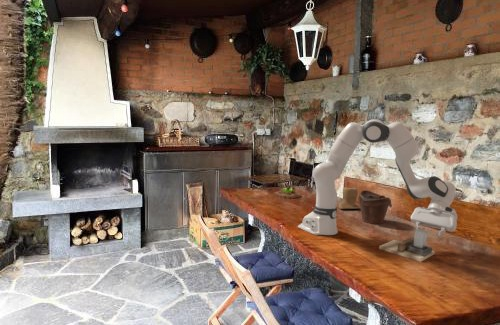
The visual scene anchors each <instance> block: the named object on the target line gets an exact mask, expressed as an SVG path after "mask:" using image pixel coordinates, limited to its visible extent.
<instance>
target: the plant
mask: <svg viewBox="0 0 500 325" xmlns="http://www.w3.org/2000/svg"><path fill="white" fill-rule="evenodd" d="M284 185H286V187H283V188H281V190H279V191H275V192H273V196H276V197H277V198H281V199H287V200H293V199H296V198H302V197H301V196H302V193H300V192H297V191H294V189H293V188H294V185H293V184H290V185H289V184H288V182H287V181H285V182H284Z"/></svg>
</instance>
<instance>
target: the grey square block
mask: <svg viewBox="0 0 500 325" xmlns="http://www.w3.org/2000/svg"><path fill="white" fill-rule="evenodd" d="M413 237H414V246H413V247H414V248H417V249H421V250H425V249H426V246H427V239H428V231H425V230H422V229H421V230H417V231H416V230H415V231H414V235H413Z"/></svg>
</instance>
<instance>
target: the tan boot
mask: <svg viewBox="0 0 500 325" xmlns="http://www.w3.org/2000/svg"><path fill="white" fill-rule="evenodd" d="M358 193H359V192H358V189H357V188H354V187H343V188H342V198H343V202H342V203H339V204H338V205H337V207H338V208H339V209H340V210H354V209H357V210H358V209H361V208H360V205H357V204H356V202H357V200H358V195H359V194H358Z"/></svg>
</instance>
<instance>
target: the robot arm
mask: <svg viewBox="0 0 500 325" xmlns="http://www.w3.org/2000/svg"><path fill="white" fill-rule="evenodd" d="M363 140H365V141H367V142H369V143H372V144H373V143H375V144H376V143H379V142H384V141H387V142H388V144H389V145H390V147H391V148H392V150H393V152H394V154H395V155H394V156H395V159H394V160H395V164H396V166H397V169H398V171H399V174H400V176H401V177H402V179H403V182H404V184H405V187H406V190H407V194H408V196H410V197H411V198H412V199H414V200H417V201H418V200H423V199H425V198H430V199H431V200H430V202H429V204H428V206H427V207H422V206H417V207H414V210H413V212H412V214H411V215H410V221H411V223H413V224H416V228H415V231H417V230H422V229H421V226H426V227H429V228H435V229H438V230H439V231H438V230H437V231H436V233H435V234H436V237H439V238H441V235H443V234H445V232H446V231H447V232H451V233H452V232H455V231H456V230H457V229H456V228H457V225H458V222H457V220H458V214H457V211H456V209H455V208H452V207H451V205H452V203H453V201H454V198H455V196H456V192H457V189H456V185H454V183H452V182H451V181H449V180H442V179H441V178H440V177H438V176H435V175H434V176H433V175H432V176H427V177H424V178H420V179H418V178H417V177H416V175H415V173H414V170H413V169H412V166H411V161H412V160H413V158H415V157H416V155H417V154H418V152H419V145H418V142H417V141H416V139H415V137H414V135H413V134H412V133H411V131H410V130H409V129H408V128H407V127H406V126H405V125H404V124H403V123H402V122H400V121H394V122H391V123H390V124H386V123H385V122H384V121H383V120H382V119H380V118H376V117H373V118H371V119H369V120H366V121H364V122H362V123H361V124H360V123H359V122H354V121H353V122H348V123H347V125H346V126H345V127H344V128H343V129H342V130H341V132H340V133H339V134H338V136H337V138H336V139H335V141H334V142H333V144H332V145H331V148H329V149H330V150H329V154H328V156H327V159H326V160H325V161H324V162H321V163H319V164H317V165H316V166H315V167H314V168H313V169H312V178H313V180H314V182H315V190H316V191H315V192H316V198H315V205H313V206H311V208H312V211H311V212H310V213H308V214H306V215H305V216H304V217H303V219H302V222H301V223H300V224H298V226H297V228H299V229H300V230H303V231H305V232H307V233H310V234H312V235H314V236H315V235H316V236H317V235H321V236H322V235H323V236H333V235H334V236H335V235H336V234H337V235H338V233H339V231H338V226H337V213H338V206H337V202H338V201H337V200H338V192H337V190H336V189H337V188H336V184H335V183H336V180H338V179H340V177H341V176H342V175H343V174H342V173H343V171H344V170H345V168H346V165H347V164H348V161H349V160H350V159H351V157H352V155H353V154H354V152H355V150H356V149H357V147H358V146H359V145H360V143H361V142H362V141H363Z"/></svg>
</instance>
